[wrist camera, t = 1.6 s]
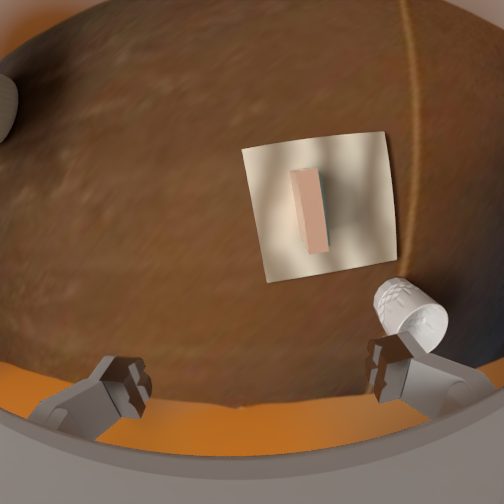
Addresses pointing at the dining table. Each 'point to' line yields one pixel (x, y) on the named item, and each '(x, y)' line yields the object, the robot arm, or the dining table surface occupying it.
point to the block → (310, 209)
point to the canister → (7, 105)
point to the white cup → (410, 312)
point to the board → (336, 200)
